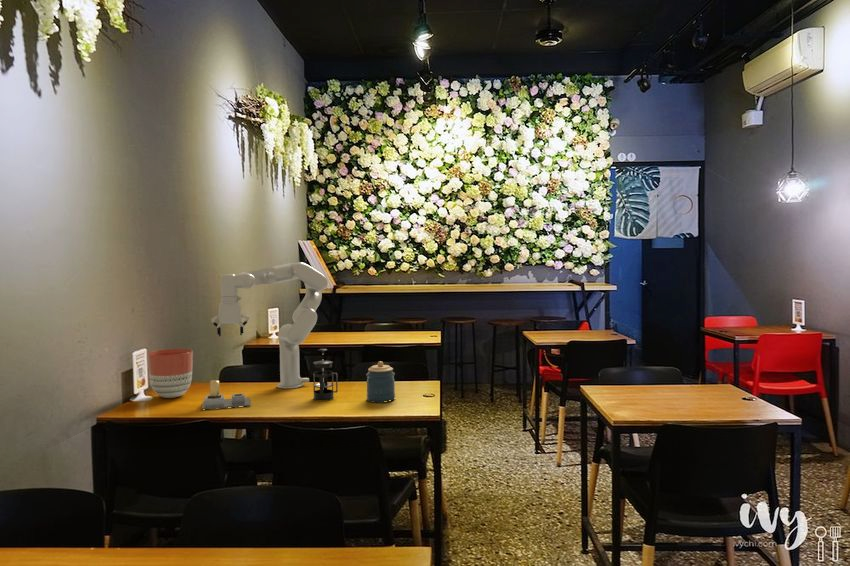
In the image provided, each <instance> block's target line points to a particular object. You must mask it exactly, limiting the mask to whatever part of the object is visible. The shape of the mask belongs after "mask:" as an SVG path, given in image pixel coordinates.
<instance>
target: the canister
mask: <svg viewBox="0 0 850 566" xmlns="http://www.w3.org/2000/svg"><path fill="white" fill-rule="evenodd" d="M367 370H368V372H367V373H366V374H365V375H366V377H367V380H366V399H367V401H368V400H369V401H368V402H370V401H374V402H373V403H376V402H383V403H385V402H384V401H389V400H393V399H394V398H396V391H395V390H396V389H395V388H396V387H395V386H396V383H395V382H396V381H395V380H396V379H395V378H394V377H395V375H396V373H395V372H394V371H393V370H394V368H393V367H391V366H390V365H389V364H384V362H383V361H381V360H380V361H378V362H377V364H374V365H372V366H370V367H369V368H368V369H367ZM394 400H395V399H394ZM394 400H393V401H394Z"/></svg>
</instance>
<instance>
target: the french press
mask: <svg viewBox="0 0 850 566" xmlns="http://www.w3.org/2000/svg"><path fill="white" fill-rule="evenodd" d="M318 351H319V352H321V354H325V352H326V351H328V349H327V348H320V349H318ZM312 363H313V364H314V365H313V366H314V368H315V369H320V371H315V372H313V373H312V375H313V378H312V379H313V397H312V398H313V400H314V401H316V400H328V401H331V400H330V399H332V400H334V399H333V398H335V397H334V393H337V392H338V387H339V386H338V373H337V372H333V371H330V370H324V369H329V368H332V367H333V363H334V361H331V360H317V361H313V362H312ZM334 375H335V390H334ZM330 377H331V383H330V382H328V378H330ZM315 378H319V380H318V382H319V383H315V382H316V381H315V380H316V379H315ZM317 388H318V389H317ZM328 388H332V389H328Z"/></svg>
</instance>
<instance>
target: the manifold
mask: <svg viewBox="0 0 850 566" xmlns="http://www.w3.org/2000/svg"><path fill="white" fill-rule="evenodd" d="M245 396H246V395H245V393H232V394H231V398H225V394H224V393H223V394H220V393H219V398H211V399H210V394H208V395H205V396H204V399H203V401H202V405H201V411H202V410H203V409H216V408H228V407H239V406H250V407H251V397H245Z"/></svg>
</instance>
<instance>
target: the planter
mask: <svg viewBox="0 0 850 566" xmlns="http://www.w3.org/2000/svg"><path fill="white" fill-rule="evenodd" d="M193 356H194V350H193V349H191V348H167V349H158V350H153V351H150V352H149V351H148V352H147V362H148V363H147V364H148V371H149V372H148V373H149V374H148V375H149V383H150V386H151V388H152V390H153V391H154V393H156V395H158V396H159V397H161V398H163V399H174V398H175V399H176V398H177V397H178V398H179V397H181V396H183V395H184V394H185V393H186V392H187V391H188V390H189V388H190V386H191V384H192V379H193V364H194V363H193V360H194V358H193Z"/></svg>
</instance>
